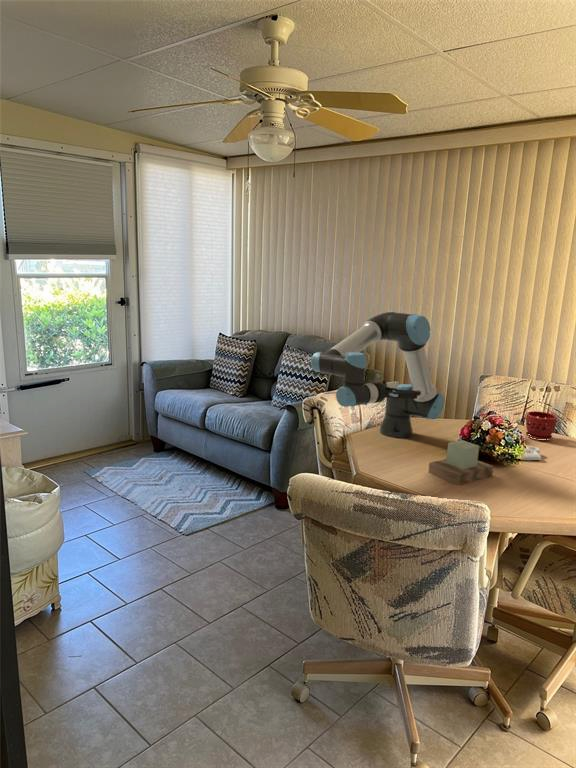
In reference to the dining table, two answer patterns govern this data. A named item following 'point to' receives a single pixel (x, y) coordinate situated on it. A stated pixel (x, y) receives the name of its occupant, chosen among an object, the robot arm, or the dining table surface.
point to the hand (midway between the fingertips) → (410, 388)
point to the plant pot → (540, 424)
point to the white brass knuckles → (532, 453)
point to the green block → (462, 454)
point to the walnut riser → (460, 472)
